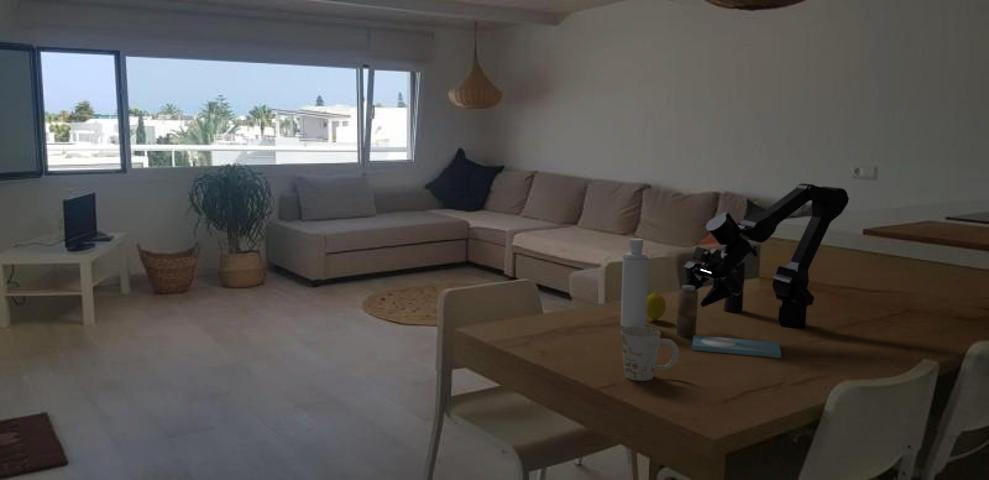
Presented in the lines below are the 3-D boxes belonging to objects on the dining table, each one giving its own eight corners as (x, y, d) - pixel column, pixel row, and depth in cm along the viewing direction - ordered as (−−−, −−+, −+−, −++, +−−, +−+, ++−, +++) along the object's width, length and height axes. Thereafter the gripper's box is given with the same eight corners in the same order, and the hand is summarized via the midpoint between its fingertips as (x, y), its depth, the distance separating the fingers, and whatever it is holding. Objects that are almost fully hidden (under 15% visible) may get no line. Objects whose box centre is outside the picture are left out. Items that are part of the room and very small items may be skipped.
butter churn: (725, 316, 213) (730, 217, 208) (707, 307, 222) (712, 213, 217) (754, 314, 215) (760, 216, 210) (735, 306, 224) (741, 212, 219)
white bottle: (633, 321, 206) (637, 230, 202) (651, 326, 201) (655, 233, 197) (615, 324, 203) (618, 232, 199) (632, 330, 197) (636, 235, 193)
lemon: (665, 323, 204) (666, 295, 202) (644, 322, 205) (645, 293, 204) (664, 318, 209) (666, 290, 208) (644, 317, 210) (645, 289, 209)
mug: (615, 370, 165) (616, 326, 164) (671, 369, 166) (673, 325, 165) (624, 383, 157) (626, 337, 155) (683, 382, 158) (685, 336, 157)
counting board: (778, 347, 183) (778, 341, 183) (780, 358, 175) (781, 352, 175) (693, 339, 189) (693, 334, 189) (691, 349, 181) (692, 344, 180)
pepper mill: (696, 333, 195) (698, 285, 193) (695, 338, 191) (698, 289, 189) (677, 331, 196) (679, 283, 194) (675, 336, 192) (678, 287, 190)
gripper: (692, 230, 200) (653, 273, 198) (735, 241, 183) (694, 288, 181) (715, 258, 204) (678, 301, 202) (760, 271, 187) (719, 318, 185)
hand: (691, 301), depth 192 cm, fingers open, 9 cm apart
